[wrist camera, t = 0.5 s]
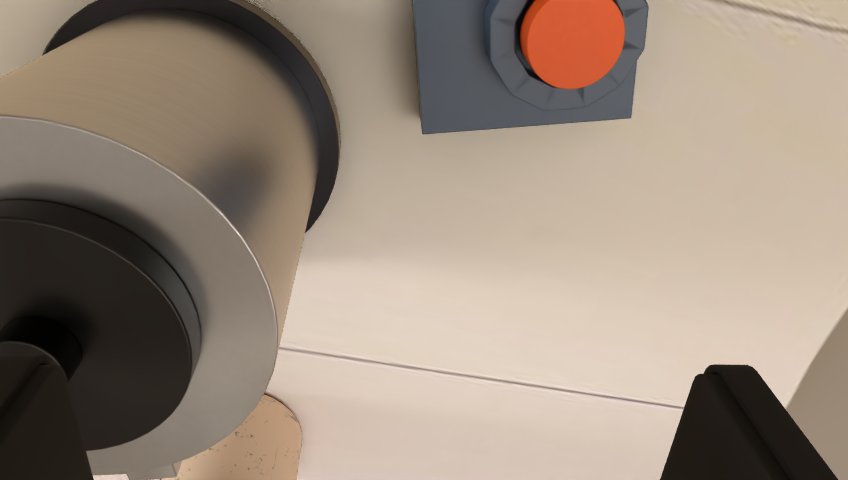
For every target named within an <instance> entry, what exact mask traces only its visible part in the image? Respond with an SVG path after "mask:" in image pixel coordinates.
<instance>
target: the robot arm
mask: <svg viewBox="0 0 848 480" xmlns="http://www.w3.org/2000/svg"><path fill="white" fill-rule="evenodd" d="M0 480H94V479H93V475H92V472H91V468H90V464H89V460H88V456H87V453H86V449H85V445H84V441H83V437H82V434H81V430H80V426H79V422H78V419H77V415H76V411H75V407H74V403H73V400H72V396H71V392H70V388H69V384H68V381H67V377H66V373H65V371H64V368H63V367H62V366H59V365H54V364H53V362H52V360H51V358H50V357H49V356H47V355H28V354H3V355H1V356H0ZM660 480H838V479H837V478H836V476H835V475H834V474H833V472H832V471H831V470H830V468H829V467H828V466H827V464H826V463H825V462H824V460H823V459H822V458H821V456H820V455H819V454H818V452H817V451H816V450H815V448H814V447H813V446H812V444H811V443H810V442H809V440H808V439H807V438H806V436H805V435H804V434H803V432H802V431H801V430H800V428H799V427H798V426H797V424H796V423H795V422H794V420H793V419H792V418H791V416H790V415H789V414H788V412H787V411H786V410H785V408H784V407H783V406H782V404H781V403H780V402H779V400H778V399H777V398H776V396H775V395H774V394H773V392H772V391H771V390H770V388H769V387H768V386H767V384H766V383H765V382H764V380H763V379H762V378H761V376H760V375H759V374H758V372H757V371H756V370H755V369H754V368H753V367H751V366H749V365H710V366H708V367H707V368H706V370H705V372H704V374H698V375H697V376H696V377H695V379H694V381H693V383H692V386H691V389H690V392H689V395H688V398H687V401H686V404H685V407H684V410H683V413H682V416H681V419H680V422H679V425H678V428H677V431H676V434H675V437H674V440H673V443H672V446H671V449H670V452H669V455H668V458H667V461H666V464H665V467H664V470H663V473H662V476H661V479H660Z"/></svg>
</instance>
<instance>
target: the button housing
mask: <svg viewBox="0 0 848 480" xmlns="http://www.w3.org/2000/svg"><path fill="white" fill-rule="evenodd" d="M533 1H534V0H412V6H413V21H414V35H415V50H416V65H417V79H418V94H419V109H420V120H421V127H422V134H433V133H446V132H459V131H472V130H485V129H498V128H511V127H524V126H537V125H549V124H562V123H575V122H588V121H601V120H614V119H627V118H631V115H632V105H633V95H634V84H635V74H636V64H637V60H638V58H639V56H640V55H641V53H642V52H643V50H644V47H645V37H646V27H647V17H648V4H647V2H646V0H613V1H614V2H615V4H616V5H617V6H618V8H619V10H620V12H621V14H622V16H623V20H624V25H625V39H624V45H623V48H622V51H621V54H620V56H619V58H618V60H617V62H616V63H615V64H614V66H613V67H612V68H611V70H610V71H609V72H608V73H607V74H606V75H605V76H603V77H602V78H601V79H599V80H598V81H596V82H594V83H593V84H590V85H588V86H585V87H582V88H577V89H562V88H558V87H554V86H552V85H550V84H548V83H546V82H545V81H543V80H542V79H541V78H540V77H539V76H538V75H537V74H536V73H535V71H534V70H533V69H532V67H531V66H530V65H529V63H528V62H527V60H526V59H525V57H524V55H523V52H522V49H521V44H520V29H521V24H522V21H523V18H524V16H525V13H526V11H527V10H528V8H529V6H530V5H531V4H532V2H533Z"/></svg>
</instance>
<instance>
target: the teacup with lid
mask: <svg viewBox="0 0 848 480" xmlns="http://www.w3.org/2000/svg"><path fill="white" fill-rule="evenodd" d="M301 445H302V432H301V428H300V425H299V423H298V421H297V419H296V418H295V416H294V415H293V413H292V412H291V411H290V410H289V409H288V408H287V407H285V406H284V405H283V404H282V403H280V402H279V401H277V400H275V399H273V398H271V397H269V396H267V395H264V394H263V396H262V398H261V399H260V401H259V403H258V404H257V406H256V408H255V409H254V410H253V411H252V412H251V413H250V415H249V416H248V417H247V418H246V419H245V421H244V422H243V423H242V424H241V425H240V426H238V427H237V428H236V429H235V430H234V431H233V432H232V433H230V434H229V435H228V436H227V437H226V438H224V439H223V440H221V441H220V442H218V443H217V444H215V445H214V446H212V447H211V448H209V449H207V450H205V451H203V452H201V453H199V454H197V455H195V456H193V457H191V458H188V459H186V460H183V461H182V463H181V466H180V469H179V472H178V475H177V477H175V478H163V479H160V480H296V479H297V472H298V465H299V458H300V452H301Z"/></svg>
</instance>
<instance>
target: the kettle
mask: <svg viewBox="0 0 848 480" xmlns="http://www.w3.org/2000/svg"><path fill="white" fill-rule="evenodd" d="M340 144H341V140H340V125H339V120H338V115H337V110H336V105H335V103H334V100H333V97H332V94H331V91H330V88H329V86H328V84H327V82H326V80H325V78H324V76H323V74H322V72H321V70H320V69H319V67H318V66H317V64H316V63H315V61H314V60H313V58H312V56H311V55H310V53H309V52H308V51H307V50H306V49H305V48H304V46H303V45H302V44H301V43H300V42H299V41H298V39H297V38H296V37H295V36H294V35H293V34H292V33H290V32H289V31H288V30H287V29H286V28H285V27H284V26H283V25H282V24H281V23H280V22H278V21H277V20H275V19H274V18H273V17H271V16H270V15H268V14H267V13H266V12H264V11H263V10H261V9H260V8H258V7H256V6H254V5H252V4H250V3H249V2H247V1H245V0H97V1H95V2H93V3H91V4H89V5H87V6H86V7H85V8H83V9H82V10H80V11H79V12H77V13H76V14H74V15H73V16H72V17H71V18H70V19H69V20H68V21H67V22H66V23H65V24H64V25H63V26H62V27H61V28H60V29H58V31H57V32H56V34H55V35H54V36H53V38H52V39H51V40H50V42H49V43H48V45H47V46H46V48H45V50H44V52H43V54H42V56H41V57H39V58H37V59H35V60H33V61H31V62H29V63H28V64H26V65H24V66H22V67H20V68H18V69H16V70H14V71H12V72H11V73H9V74H7V75H5V76H3V77H1V78H0V356H1V355H3V354H28V355H47V356H49V357H50V358H51V360H52V362H53V364H54V365H59V366H62V367H63V368H64V371H65V373H66V377H67V381H68V384H69V388H70V392H71V396H72V400H73V403H74V407H75V411H76V415H77V419H78V422H79V426H80V430H81V434H82V437H83V441H84V445H85V449H86V453H87V456H88V460H89V464H90V468H91V472H92V475H114V474H127V476H128V478H129V480H151V479H163V478H175V477H177V475H178V472H179V469H180V466H181V463H182V461H183V460H186V459H188V458H191V457H193V456H195V455H197V454H199V453H201V452H203V451H205V450H207V449H209V448H211V447H212V446H214V445H215V444H217V443H218V442H220V441H221V440H223V439H224V438H226V437H227V436H228V435H229V434H230V433H232V432H233V431H234V430H235V429H236V428H237V427H238V426H240V425H241V424H242V423H243V422H244V421H245V419H246V418H247V417H248V416H249V415H250V413H251V412H252V411H253V410H254V409H255V408H256V406H257V404H258V403H259V401H260V399H261V398H262V396H263V394H264V393H265V391H266V389H267V387H268V384H269V381H270V379H271V376H272V374H273V371H274V367H275V363H276V358H277V354H278V349H279V345H280V341H281V336H282V332H283V327H284V323H285V318H286V314H287V310H288V305H289V301H290V296H291V292H292V287H293V283H294V279H295V274H296V270H297V265H298V261H299V257H300V252H301V248H302V243H303V239H304V234H305V233H306V232H307V231H308V230H309V229H310V228H311V227H312V225H313V224H314V223H315V221H316V220H317V219H318V218H319V216H320V215H321V213H322V211H323V209H324V208H325V206H326V204H327V202H328V200H329V198H330V195H331V192H332V190H333V187H334V184H335V179H336V175H337V170H338V165H339V158H340Z"/></svg>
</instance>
